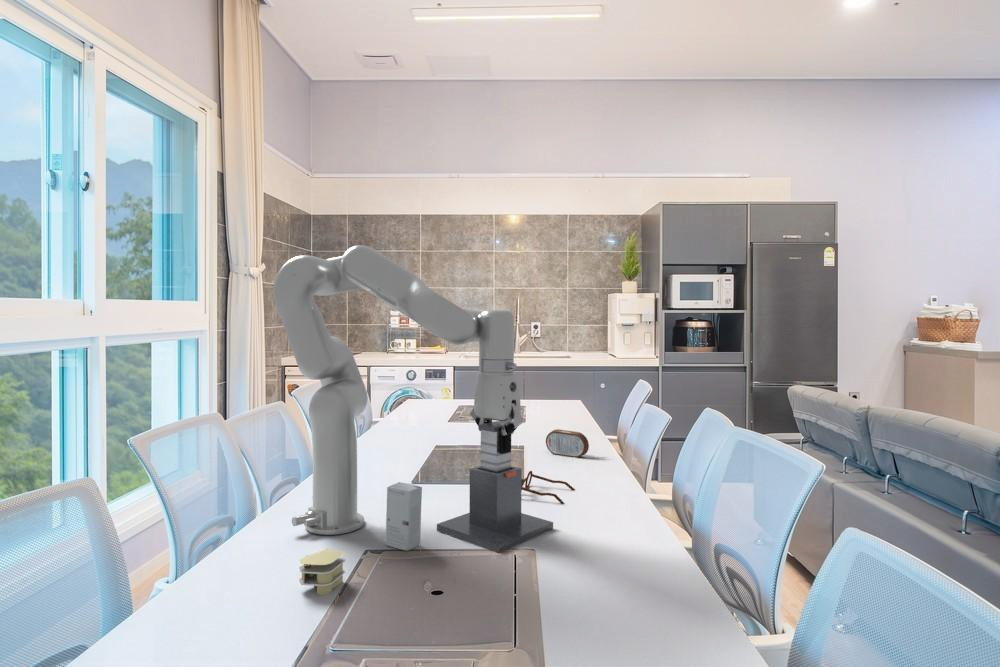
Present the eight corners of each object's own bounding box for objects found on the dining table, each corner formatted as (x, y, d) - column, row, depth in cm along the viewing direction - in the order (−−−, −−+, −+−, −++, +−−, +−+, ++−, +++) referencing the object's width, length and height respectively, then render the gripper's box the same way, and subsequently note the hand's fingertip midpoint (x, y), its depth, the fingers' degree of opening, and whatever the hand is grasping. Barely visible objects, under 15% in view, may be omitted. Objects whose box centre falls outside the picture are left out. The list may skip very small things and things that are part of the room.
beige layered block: (319, 573, 110) (319, 543, 110) (361, 581, 106) (361, 550, 106) (281, 596, 100) (280, 564, 100) (325, 606, 97) (324, 573, 97)
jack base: (498, 552, 119) (499, 485, 118) (436, 530, 130) (437, 469, 130) (553, 528, 132) (553, 468, 132) (492, 510, 144) (492, 454, 144)
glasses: (528, 486, 166) (529, 468, 166) (575, 491, 162) (575, 473, 162) (514, 500, 154) (514, 480, 154) (564, 506, 150) (564, 486, 149)
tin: (589, 457, 199) (589, 432, 198) (585, 459, 196) (585, 434, 196) (548, 452, 207) (548, 427, 206) (544, 453, 204) (544, 429, 204)
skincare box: (384, 545, 122) (384, 486, 122) (398, 538, 126) (398, 481, 125) (408, 551, 119) (408, 491, 118) (422, 544, 123) (422, 485, 122)
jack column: (494, 526, 127) (494, 427, 127) (478, 520, 131) (478, 424, 130) (512, 518, 132) (513, 423, 131) (496, 514, 135) (497, 421, 134)
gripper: (537, 368, 127) (537, 454, 128) (479, 363, 139) (479, 442, 139) (515, 370, 122) (514, 460, 122) (456, 365, 133) (456, 447, 134)
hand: (495, 449), depth 131 cm, fingers closed on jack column, 4 cm apart
